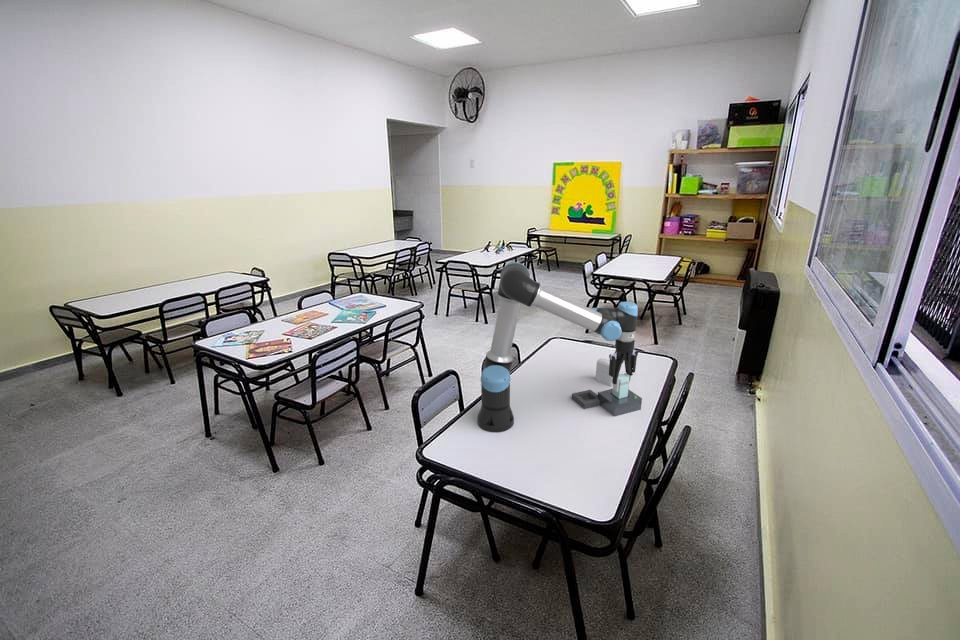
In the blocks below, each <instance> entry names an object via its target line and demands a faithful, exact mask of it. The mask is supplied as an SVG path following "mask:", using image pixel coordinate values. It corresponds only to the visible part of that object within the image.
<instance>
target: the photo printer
mask: <svg viewBox="0 0 960 640" xmlns="http://www.w3.org/2000/svg"><path fill="white" fill-rule="evenodd" d="M609 365H610V359H607V358H602V357H600V358H598V359H597V360H596V367H595V368H596V369H595V381H597V382H599V383H601V384H602V385H603V384H604V385H606V386H608V387H612V388H613V383H612V379H613V377H611V376H610V375H609Z"/></svg>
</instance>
